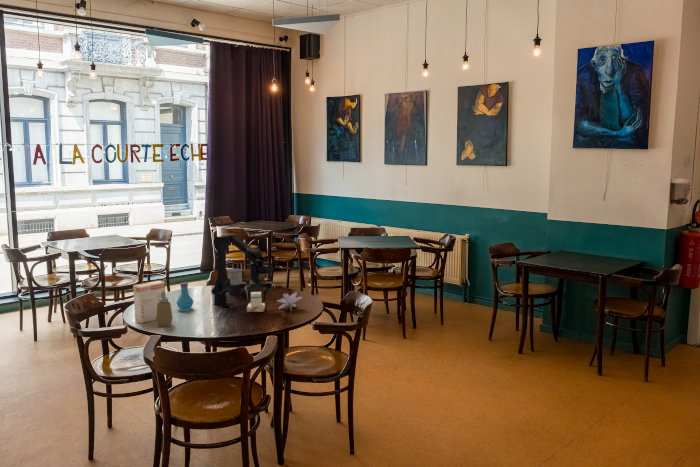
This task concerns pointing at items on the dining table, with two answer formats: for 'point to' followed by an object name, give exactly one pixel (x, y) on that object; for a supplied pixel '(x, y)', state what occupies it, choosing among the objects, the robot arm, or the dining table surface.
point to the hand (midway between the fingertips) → (255, 300)
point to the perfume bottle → (184, 298)
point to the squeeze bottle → (164, 311)
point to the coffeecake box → (147, 300)
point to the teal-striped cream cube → (256, 299)
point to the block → (255, 308)
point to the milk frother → (235, 281)
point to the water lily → (289, 300)
